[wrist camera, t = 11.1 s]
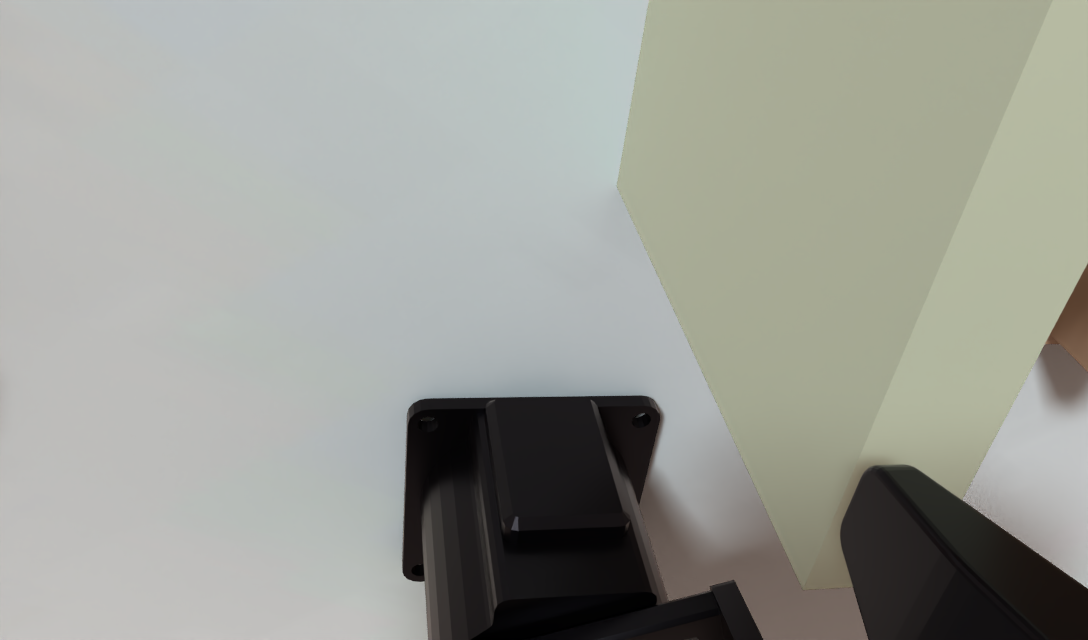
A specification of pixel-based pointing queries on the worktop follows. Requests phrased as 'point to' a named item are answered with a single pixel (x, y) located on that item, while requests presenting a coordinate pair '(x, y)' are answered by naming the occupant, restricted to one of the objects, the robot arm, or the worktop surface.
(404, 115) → the worktop surface
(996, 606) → the robot arm
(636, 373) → the worktop surface
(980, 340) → the green sheet
